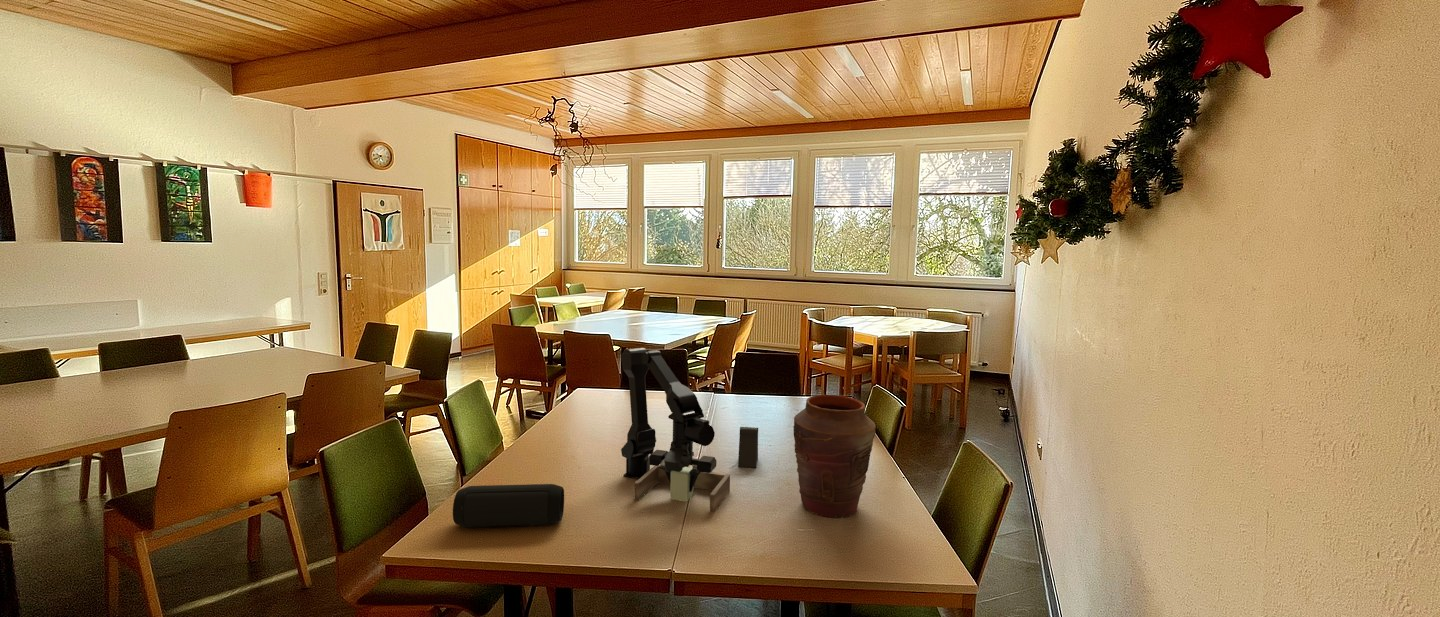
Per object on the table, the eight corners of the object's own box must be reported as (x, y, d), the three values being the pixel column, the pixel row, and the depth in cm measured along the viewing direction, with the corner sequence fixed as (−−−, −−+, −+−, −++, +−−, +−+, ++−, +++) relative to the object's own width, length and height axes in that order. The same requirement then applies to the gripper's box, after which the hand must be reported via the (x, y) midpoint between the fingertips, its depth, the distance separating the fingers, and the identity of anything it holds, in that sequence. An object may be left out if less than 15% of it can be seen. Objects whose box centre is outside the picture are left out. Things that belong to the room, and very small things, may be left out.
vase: (866, 532, 151) (871, 416, 147) (781, 516, 158) (785, 406, 155) (875, 497, 172) (880, 396, 169) (800, 485, 179) (803, 388, 176)
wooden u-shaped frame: (634, 500, 166) (634, 482, 166) (656, 480, 181) (656, 464, 180) (713, 512, 160) (714, 494, 159) (729, 491, 174) (730, 474, 174)
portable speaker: (564, 514, 157) (564, 477, 156) (559, 531, 147) (558, 493, 146) (464, 517, 154) (463, 479, 153) (451, 535, 144) (450, 495, 143)
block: (670, 499, 168) (670, 471, 167) (676, 492, 172) (677, 465, 171) (686, 501, 166) (687, 474, 165) (693, 494, 171) (693, 467, 170)
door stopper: (756, 468, 193) (757, 432, 191) (737, 467, 193) (738, 431, 192) (758, 458, 201) (759, 424, 200) (740, 457, 202) (741, 423, 201)
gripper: (640, 441, 162) (639, 496, 164) (705, 449, 157) (703, 506, 159) (656, 429, 173) (655, 481, 175) (717, 437, 168) (716, 490, 169)
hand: (681, 490), depth 169 cm, fingers closed on block, 5 cm apart
